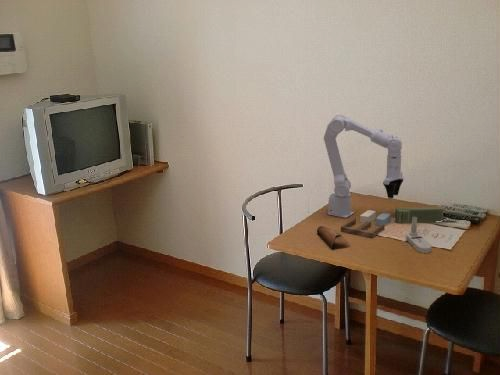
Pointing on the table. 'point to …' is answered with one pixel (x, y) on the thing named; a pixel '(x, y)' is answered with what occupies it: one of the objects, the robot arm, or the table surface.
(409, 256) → the table surface
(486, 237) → the table surface
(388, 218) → the light blue block
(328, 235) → the sunglasses case
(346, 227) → the rack
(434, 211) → the handheld radio
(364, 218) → the cream rectangular block
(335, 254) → the table surface
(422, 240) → the electronic device
